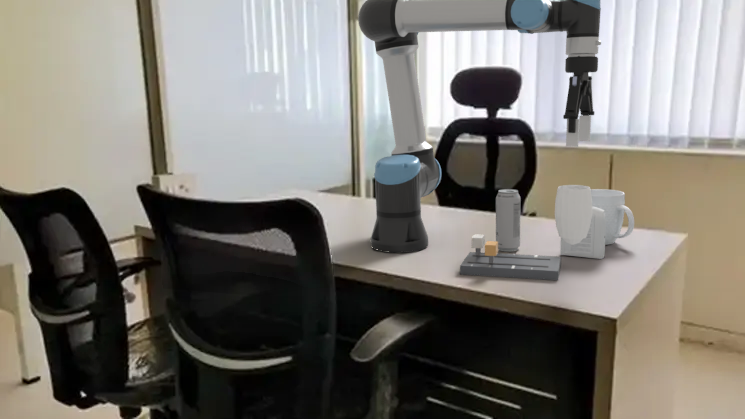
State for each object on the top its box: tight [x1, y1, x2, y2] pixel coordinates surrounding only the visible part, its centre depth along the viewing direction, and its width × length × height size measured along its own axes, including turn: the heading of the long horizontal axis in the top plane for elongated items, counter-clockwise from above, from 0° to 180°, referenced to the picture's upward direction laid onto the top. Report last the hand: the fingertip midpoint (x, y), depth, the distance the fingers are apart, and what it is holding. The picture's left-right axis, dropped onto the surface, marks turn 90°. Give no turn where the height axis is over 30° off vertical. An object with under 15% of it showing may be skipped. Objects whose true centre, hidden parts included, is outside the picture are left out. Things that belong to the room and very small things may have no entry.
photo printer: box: [559, 206, 606, 260], centre depth 155 cm, size 10×4×12 cm, turn 61°
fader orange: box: [484, 240, 499, 263], centre depth 145 cm, size 2×4×4 cm, turn 162°
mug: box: [590, 188, 635, 246], centre depth 166 cm, size 15×11×13 cm
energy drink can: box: [495, 188, 521, 253], centre depth 164 cm, size 6×6×15 cm
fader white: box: [471, 233, 486, 255], centre depth 152 cm, size 2×4×4 cm, turn 161°
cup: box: [554, 184, 592, 245], centre depth 132 cm, size 7×7×21 cm
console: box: [459, 251, 562, 281], centre depth 147 cm, size 21×12×2 cm, turn 71°
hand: (578, 143), depth 162 cm, fingers open, 13 cm apart
